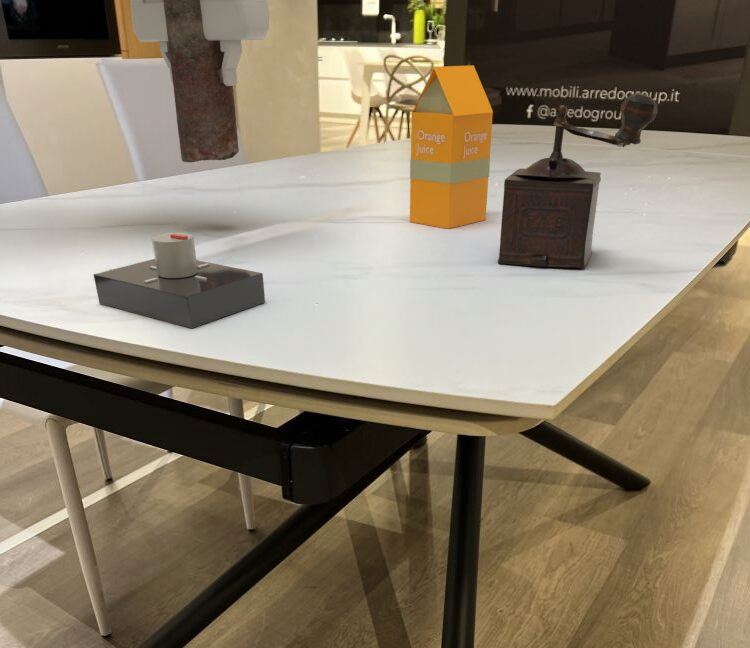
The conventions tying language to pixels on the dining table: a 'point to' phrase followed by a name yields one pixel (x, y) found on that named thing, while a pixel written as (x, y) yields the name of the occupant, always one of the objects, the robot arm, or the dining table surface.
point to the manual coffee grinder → (561, 196)
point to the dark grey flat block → (181, 292)
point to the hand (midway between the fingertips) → (204, 85)
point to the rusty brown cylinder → (199, 87)
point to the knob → (175, 255)
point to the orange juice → (450, 149)
